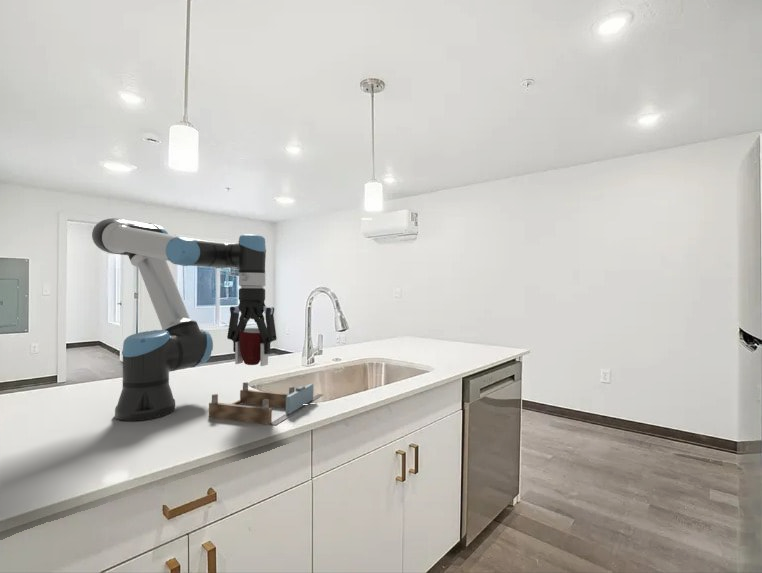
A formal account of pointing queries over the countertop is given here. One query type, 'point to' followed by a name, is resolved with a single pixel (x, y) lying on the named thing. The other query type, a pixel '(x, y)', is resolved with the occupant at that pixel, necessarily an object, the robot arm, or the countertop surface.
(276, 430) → the countertop surface
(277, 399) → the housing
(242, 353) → the mug
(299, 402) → the gate
